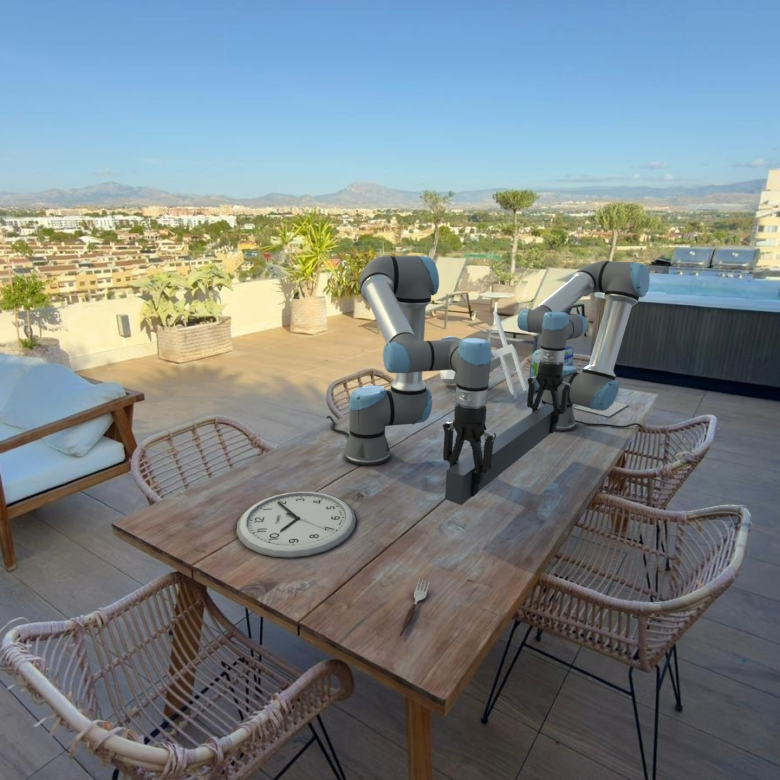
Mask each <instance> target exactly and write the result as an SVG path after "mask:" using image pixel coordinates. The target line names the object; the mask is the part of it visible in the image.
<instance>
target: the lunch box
mask: <svg viewBox="0 0 780 780" xmlns="http://www.w3.org/2000/svg"><path fill="white" fill-rule="evenodd" d="M539 356H540V348H539V349H536V350H534V352H533V353H532V355H531V358H530V359H531V360H530V366H529V378H530V377H536V376H537V374H538V365H539V362H540V361H541V360H540V359H539ZM562 363H563V364H564V365H563V366H573V363H574V347H572V346H568V345H566V346H565V356H564V362H562ZM539 387H540V385H539V384H538V382H537V380H536V383H535V390H534V392H535V391H536V392H538V389H539Z"/></svg>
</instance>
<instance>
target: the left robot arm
mask: <svg viewBox="0 0 780 780" xmlns="http://www.w3.org/2000/svg"><path fill="white" fill-rule="evenodd" d="M358 285H359V286H358V287H359V288H358V289H359V292H360V294H361V297H362V298H363V301H365V302H366V303H368V304H369V306H370V309H371V311H372V314H373V316H374V318H375V321H376V323H377V325H378V327H379V330H380V332H381V334H382V337H383V339H384V341H385V345H384V347H383V350H382V360H383V366H384V369H385V371H387V372H388V373H390V374H395V379H393V381H391V382H390V389H388V390H387V389H386V388H385V387H384V386H382V385H377V384H376V385H374V384H372V385H371V384H370V385H363V386H359V387H358V388H356V389H354V390H352V392H350V395H349V400H348V410H349V413H348V414H349V417H348V419H349V423H348V424H349V432H347V431H346V430H342V429H337V428H335V427H334V426H335V425H336V422H335V420H334V418H333V417H332V416H331V415H327V416H326V417H325V418H326V419H330V421H331V423H332V424H331V426H330V429H331V430H332V431H333V432H337V433H340V434H343V435H345V436H347V437H348V438H347V441H346V444H345V447H344V450H343V451H344V453H343V457H344V459H345V461H347V462H348V463H349V464H353V465H357V466H362V467H363V466H364V467H371V466H377V465H381V464H385V463H386V462H388V461H389V460H390V458H391V449H392V447H391V446H392V445H391V444H390V445H389V443H388V440H387V436H386V427H390V426H391V427H393V426H402V425H416V424H420V423H424V422H426V421H427V420H428V419H429V417H430V416H431V413H432V409H433V399H432V397H433V396H432V392H431V390H430V389H429V388H428V387H427V383H426V382H425V381H424V380H423V372H439V371H441V370H453V371H455V372H456V373H457V383H456V384H455V398H454V399H455V404H454V416H453V417H454V420H453V421H451V420H448V421H446V422H445V423H443V424H442V428H443V432H444V437H443V451H442V452H443V453H442V459H443V461H445V462H448V463H449V464H448V465H449V468H451V467H452V466H454V465H455V464H457V463H458V462H460V459H459V458H460V455H461V453H462V450H463V447H464V443H465V441H467V442H469V446H470V447H471V451H472V453H473V459H474V465H475V471H473V472H472V483H471V496H472V497H471V498H474V497H476V495H477V494H478V493H479V492H478V489H479V484H480V483H482V480H483V473H486V472H488V471H489V470H490V469H491V465H492V453H493V442H494V440H495V438H496V437H497V433H496V432H490V431H489V430H488V429H487V426H486V419H487V410H488V406H487V405H488V399H489V398H488V396H489V383H490V373H491V372H490V364H491V348H492V344H491V342H490V341H488V340H487V339H483V338H478V337H468V338H459V337H458V336H457V337H456V336H451V335H448V336H444V337H442V338H441V339H437V340H425V329H426V328H425V327H426V309H427V306H428V305H429V304H430V303H431V302H432V296H434V295H436V294H437V293H438V291H439V288H440V276H439V270H438V267H437V265H436V263H435V261H434V260H433V259H432V257H430V256H424V255H382V256H377V257H376V258H374V259H372V260H371V261H370V262H368V263H366V266H364V268H363V269H362V271H361V274H360V276H359V280H358ZM461 339H463V340H461ZM454 430H455V432H456V436H455V440H454ZM482 436H483V441H484V444H483V446H484V455H483V456H482V450H481V447H482ZM454 441H455V442H454ZM453 445H454V446H453Z"/></svg>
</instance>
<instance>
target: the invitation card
mask: <svg viewBox="0 0 780 780" xmlns="http://www.w3.org/2000/svg"><path fill="white" fill-rule="evenodd" d="M628 406H629V404H627V403H623V402H618V401H614V403H613V404H612V405H611V406H610V407H609V408H608V409H606V410H603V411H601V410H596V409H590V408H588V407H584V406H580V405H575V406H574V407H573V409H575V410H581V411H584V412H587V413H593V414H596V415H600V416H604V417H608V418H609V417H611V416H613V415H614V414H616V413H617V412H619V411H621V410H623V409H624V408H626V407H628Z"/></svg>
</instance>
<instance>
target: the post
mask: <svg viewBox="0 0 780 780" xmlns="http://www.w3.org/2000/svg"><path fill="white" fill-rule="evenodd" d="M539 407H540V406H539ZM539 407H538V408H537V410H536V411H534V412H533V413H532V412H531V413H530V414H528V415H527V416H525V417H524V418H522V419H521V420H519V421H518V422H516V423H515V424H513V425H512V426H510V427H508V428H507V429H506V430H504V431H503V432H501V433H500V434H498V435H496V438H495V440H494V442H493V453H492V465H491V469H490V470H489V471H488V472H486V473H483V480H482V483H480V484H479V489H478V493H480V491H481V490H482V489H484V488H485V487H486V486H487V485H489V484H490V483H491V482H492V481H493V480H495V479H496V478H497V477H499V476H500V475H501V474H502V473H504V472H505V471H506V470H507V469H509V468H510V467H511V466H512V465H514V464H515V463H516V462H518V460H520V459H521V458H522V457H523V456H524V455H526V454H527V453H529V452H530V451H531V450H532V449H533V448H535V447H536V446H537V445H538V444H540V443H541V442H542V441H544V440H545V439H546V438H547V437H548V436H550V435H551V433H550V425H551V416H552V414H553V413H554V408H553V405H551V404H545V405H543V406H542V407H540V408H539ZM557 424H558V423H557ZM557 424H555V430H556V429H557ZM481 450H482V456H483V455H484V445H481ZM473 471H475V465H474V459H473V452H472V453H470V454H468V455H467V456H465V457H464V458H463V459H461V460H459V461H457V464H455V465H454V466H452V467H451V468H450V467H449V468H448V469H446V472H445V473H446V474H445V490H444V491H445V495H444V500H446V501H449V502H452V503H454V504H457V505H460V506H463V505H464V504H465V503H466V502H467V501H469V500H470V499H472V498H473V497H472V496H471V483H472V472H473Z"/></svg>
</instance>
